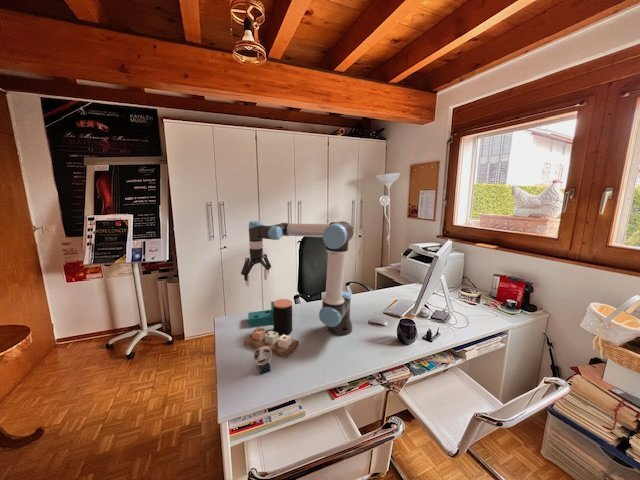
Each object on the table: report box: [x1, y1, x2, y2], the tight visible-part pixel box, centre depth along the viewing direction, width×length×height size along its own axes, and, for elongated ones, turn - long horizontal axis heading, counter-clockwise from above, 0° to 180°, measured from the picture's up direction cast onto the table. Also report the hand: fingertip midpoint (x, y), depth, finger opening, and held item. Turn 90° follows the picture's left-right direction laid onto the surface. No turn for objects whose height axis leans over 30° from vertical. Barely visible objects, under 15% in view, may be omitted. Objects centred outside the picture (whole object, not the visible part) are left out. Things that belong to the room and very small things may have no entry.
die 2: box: [265, 330, 278, 345], centre depth 137 cm, size 5×5×4 cm
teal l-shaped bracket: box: [247, 301, 274, 328], centre depth 162 cm, size 18×11×10 cm, turn 108°
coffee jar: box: [272, 298, 293, 336], centre depth 149 cm, size 11×11×18 cm
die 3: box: [278, 334, 292, 349], centre depth 133 cm, size 5×5×4 cm
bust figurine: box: [253, 346, 273, 375], centre depth 118 cm, size 6×8×11 cm
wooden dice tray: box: [243, 330, 300, 360], centre depth 137 cm, size 26×12×3 cm, turn 65°
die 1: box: [251, 326, 267, 341], centre depth 140 cm, size 5×5×4 cm
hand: (257, 282), depth 156 cm, fingers open, 13 cm apart
